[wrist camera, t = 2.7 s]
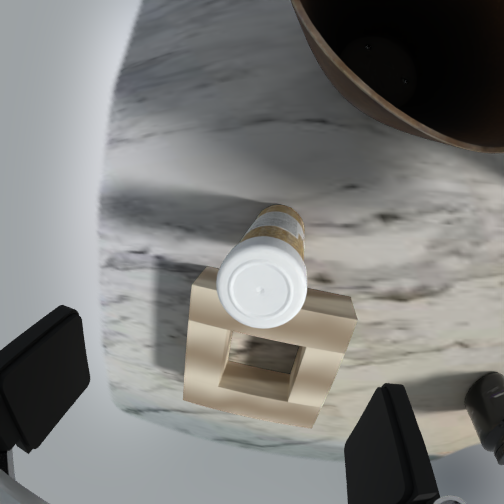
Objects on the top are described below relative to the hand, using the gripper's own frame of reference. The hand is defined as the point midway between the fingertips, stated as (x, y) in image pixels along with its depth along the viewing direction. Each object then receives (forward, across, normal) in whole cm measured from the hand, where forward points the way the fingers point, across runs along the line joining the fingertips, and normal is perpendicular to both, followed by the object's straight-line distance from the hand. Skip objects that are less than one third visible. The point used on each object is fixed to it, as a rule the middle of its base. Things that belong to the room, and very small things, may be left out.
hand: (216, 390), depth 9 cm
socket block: (+20, -2, +12) cm, 24 cm away
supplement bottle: (+20, -33, +15) cm, 41 cm away
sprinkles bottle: (+21, -1, 0) cm, 21 cm away
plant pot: (+20, -7, -16) cm, 27 cm away
